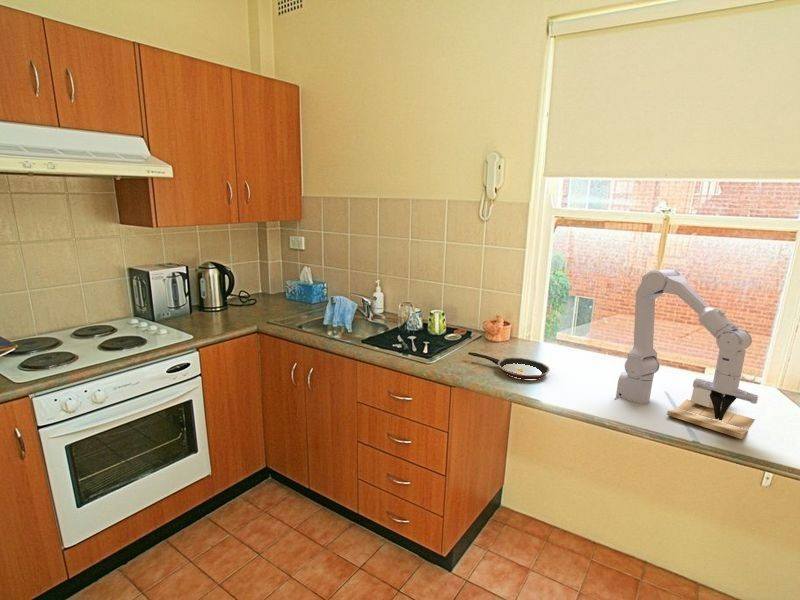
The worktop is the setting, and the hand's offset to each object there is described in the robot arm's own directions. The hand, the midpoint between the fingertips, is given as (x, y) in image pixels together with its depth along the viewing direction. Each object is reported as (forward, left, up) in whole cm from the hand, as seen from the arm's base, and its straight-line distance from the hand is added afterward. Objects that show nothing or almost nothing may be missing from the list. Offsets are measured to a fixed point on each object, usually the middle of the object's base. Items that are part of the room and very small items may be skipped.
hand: (718, 418), depth 124 cm
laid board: (-3, +13, -5) cm, 14 cm away
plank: (-3, +2, -4) cm, 5 cm away
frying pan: (-67, -3, -6) cm, 67 cm away
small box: (-5, +24, -1) cm, 25 cm away
